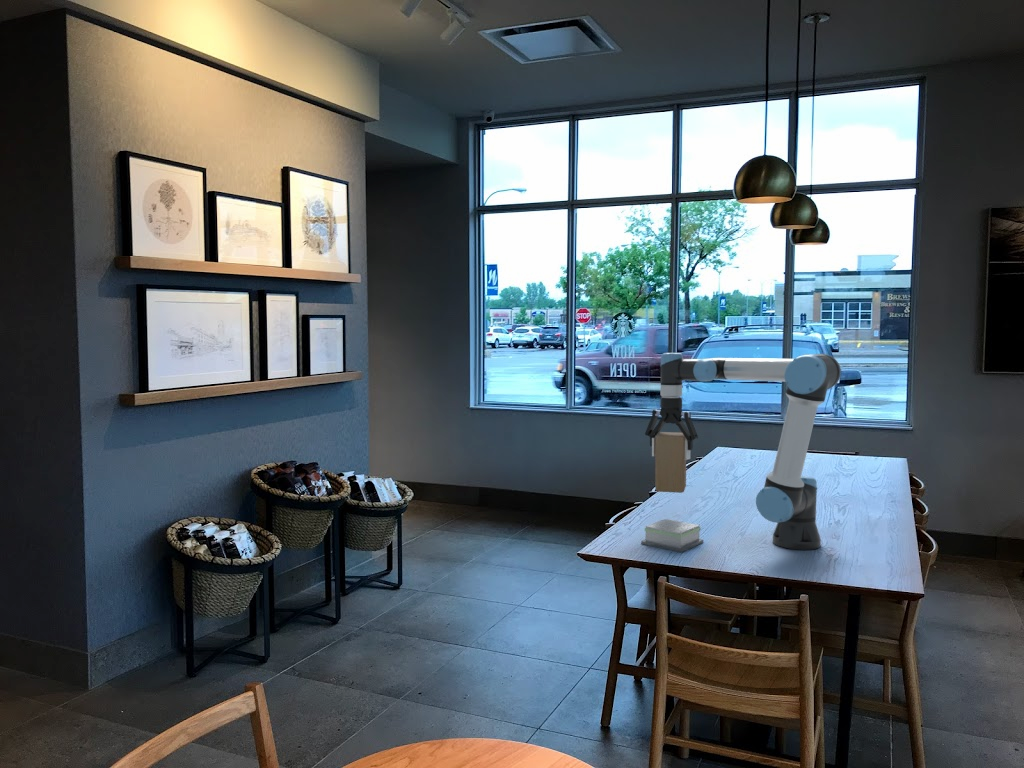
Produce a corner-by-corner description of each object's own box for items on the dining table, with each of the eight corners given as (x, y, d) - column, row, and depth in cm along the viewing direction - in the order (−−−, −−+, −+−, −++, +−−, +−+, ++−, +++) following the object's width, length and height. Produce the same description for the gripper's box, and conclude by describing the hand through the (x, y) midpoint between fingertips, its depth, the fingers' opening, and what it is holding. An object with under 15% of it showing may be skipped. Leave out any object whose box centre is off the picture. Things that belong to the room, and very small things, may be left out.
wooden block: (686, 487, 287) (686, 432, 285) (684, 493, 277) (684, 436, 276) (657, 486, 289) (658, 431, 288) (655, 492, 280) (655, 435, 278)
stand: (703, 542, 269) (703, 525, 268) (681, 552, 258) (682, 534, 257) (663, 535, 279) (664, 518, 278) (641, 544, 267) (641, 526, 267)
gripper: (708, 397, 276) (707, 459, 277) (646, 394, 292) (646, 452, 293) (698, 399, 270) (697, 462, 272) (635, 395, 286) (635, 455, 287)
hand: (670, 457), depth 282 cm, fingers closed on wooden block, 12 cm apart
